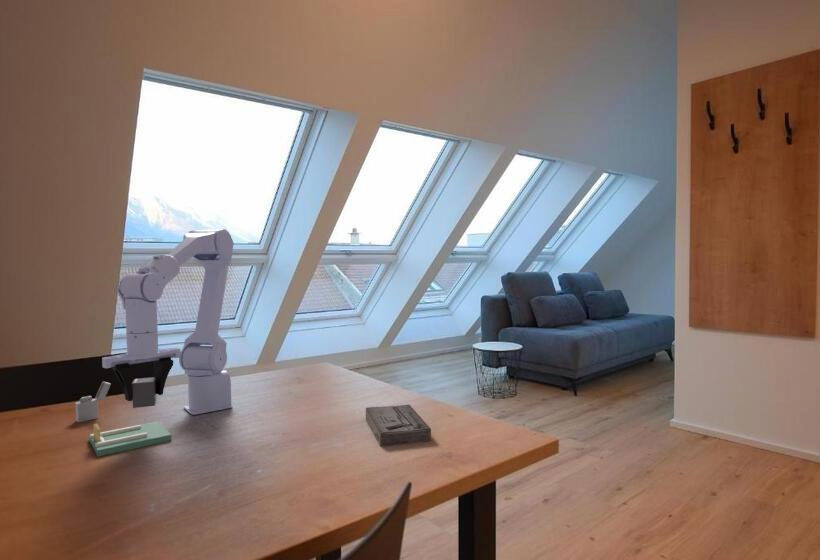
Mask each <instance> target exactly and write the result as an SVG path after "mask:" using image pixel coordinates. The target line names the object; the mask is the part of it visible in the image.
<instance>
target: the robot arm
mask: <svg viewBox="0 0 820 560" xmlns="http://www.w3.org/2000/svg"><path fill="white" fill-rule="evenodd" d="M182 237H183V240H182V241H181V242H179V243H178V244H177V245H176V246H175V247H174V248H173V249H171V251H170V252H169V253H168V254H165V253H160V254H158V253H157V254H155V255H153V256H152V259H151V261H149V262H148V263H147V264H145V265H143V266H141V267H139V270H137V271H136V272H135V273H127V274H125V275H124V276H123V277H122V278H121V279H120V281H119V284H118V287H117V288H116V290H117V294H118V296H119V298H120V299H121V302H122V308H123V309H124V311H125V332H126V335H125V336H126V353H121V354H117V355H110V356H104V357H101V360H102V361H101V363H102V364H101V365H102V366H101V367H102V368H104V369H112V371H113V373H114V374H115V376H116V377H117V379H118V381H119V383H120V385H121V388H122V390H123V394H124V399H125V400H126V401H128V402H133V392H132V383H133V376H134V375H133V374H134V369H133V368H131V365H133V364H141V363H147V362H152V364H153V365H152V366H153V371H154V377H156V395H159V396H162V395H164V390H165V385H166V381H167V380H168V379H167V378H168V375H169V374H170V371H171V370H172V368H173V366H174V360H173V359H178V363H179V367H180V368H181V369H182V370H183V371H184V375H187V387H188V388H187V389H188V391H187V393H188V395H187V396H188V405H187V404H186V405H183V409H184V410H186V411H187V412H188V413H189V414H190V415H192V416H196V415H201V414H206V413H211V412H212V413H213V412H217V411H222V410H227V409H232V408H233V404H232V383H231V381H232V380H231V376H230V373H229V371H227V370H226V369H224V368H225V367H226V364H227V361H228V354H227V345H228V343H227V341H226V340H225V339H223V338H222V337H221V335H219V329H220V322H221V316H222V310H223V304H224V297H225V291H226V286H227V285H226V284H227V278H228V272H229V266H231V263H232V257H233V251H234V250H233V249H234V243H235V242H234V240H233V237H232V235H231V233H230V232H229V230H227V229H225V228H221V229H198V230H197V229H191V230H188V232H187V233H184V234H183V236H182ZM192 258H193V259H194V261H195V262H196V263H197V264H198V265H199V266H202V267H203V269H204V277H203V282H202V288H201V294H200V299H199V305H198V311H197V312H198V313H197V318H196V324H195V329H194V330H195V331H194V332H193V333H191V334H190V335H189V336H188V337H186V338H185V339H184V344H183V346H182V349H181V348H179V347H170V348H159V337H158V335H159V333H158V332H159V331H158V307H157V306H158V305H157V304H158V303H157V302H158V300H160V299H161V297H162V295H163V292H164V289H165V288H166V285H167V284H169V283H170V282H171V281H172V280H173V279H174V278H176V277H177V276H178V275H179V273H180V272H181V271H180V267H181V266H182V265H184V264H185V263H187V262H188V261H189V260H190V259H192Z"/></svg>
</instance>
